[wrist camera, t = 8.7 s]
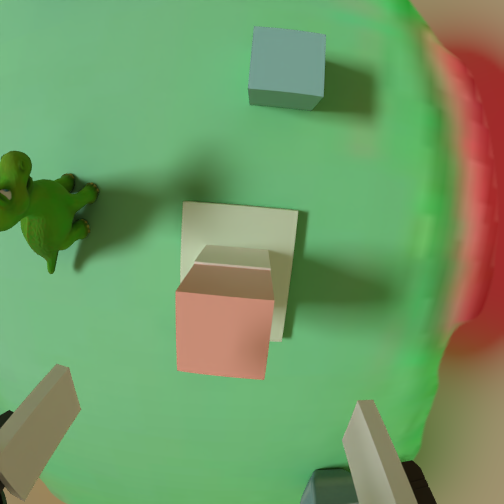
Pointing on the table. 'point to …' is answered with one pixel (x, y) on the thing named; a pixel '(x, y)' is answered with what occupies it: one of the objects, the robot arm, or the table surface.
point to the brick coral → (224, 321)
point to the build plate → (242, 244)
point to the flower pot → (330, 488)
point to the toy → (42, 207)
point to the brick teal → (286, 68)
